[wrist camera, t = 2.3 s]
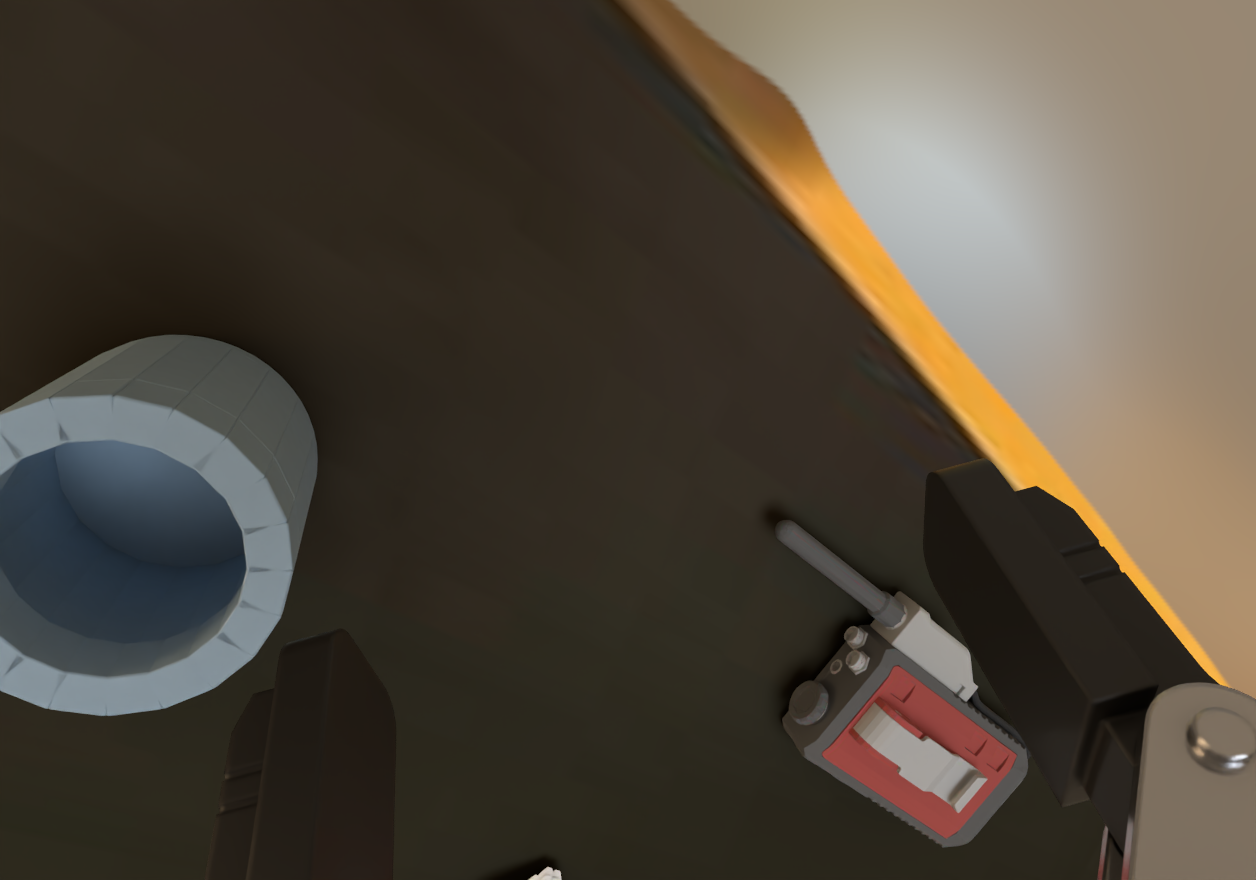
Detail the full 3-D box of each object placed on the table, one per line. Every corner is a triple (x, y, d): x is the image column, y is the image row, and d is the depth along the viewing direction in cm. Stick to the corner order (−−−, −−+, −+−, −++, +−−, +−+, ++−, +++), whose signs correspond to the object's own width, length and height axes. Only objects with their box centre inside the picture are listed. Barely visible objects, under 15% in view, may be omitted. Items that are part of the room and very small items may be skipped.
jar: (-2, 495, 31) (-167, 625, 22) (132, 283, 31) (22, 325, 21) (237, 608, 34) (182, 763, 25) (364, 419, 34) (355, 507, 24)
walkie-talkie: (1039, 702, 47) (781, 495, 39) (1102, 752, 42) (827, 531, 35) (932, 829, 47) (658, 647, 40) (984, 890, 43) (689, 700, 36)
